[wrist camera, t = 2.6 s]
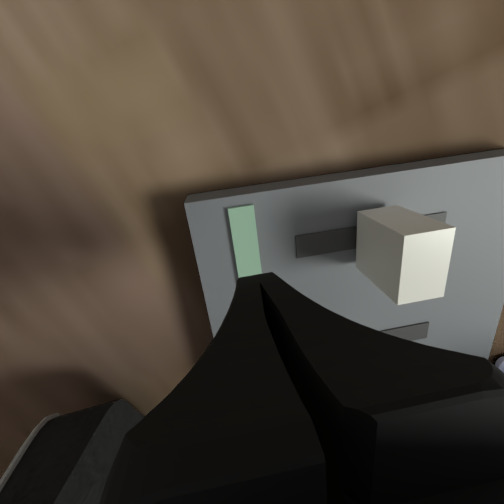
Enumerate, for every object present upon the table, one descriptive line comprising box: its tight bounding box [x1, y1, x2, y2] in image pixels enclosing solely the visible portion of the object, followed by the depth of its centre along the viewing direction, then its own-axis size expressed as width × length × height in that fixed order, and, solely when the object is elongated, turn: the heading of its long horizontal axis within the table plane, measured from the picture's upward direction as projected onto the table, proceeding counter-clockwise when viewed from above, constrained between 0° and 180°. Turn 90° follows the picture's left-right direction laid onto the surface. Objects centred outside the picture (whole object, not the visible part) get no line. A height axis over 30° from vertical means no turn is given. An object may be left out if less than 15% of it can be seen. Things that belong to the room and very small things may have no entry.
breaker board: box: [184, 149, 504, 360], centre depth 18 cm, size 18×20×2 cm
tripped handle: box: [356, 205, 456, 305], centre depth 13 cm, size 2×3×4 cm, turn 7°
